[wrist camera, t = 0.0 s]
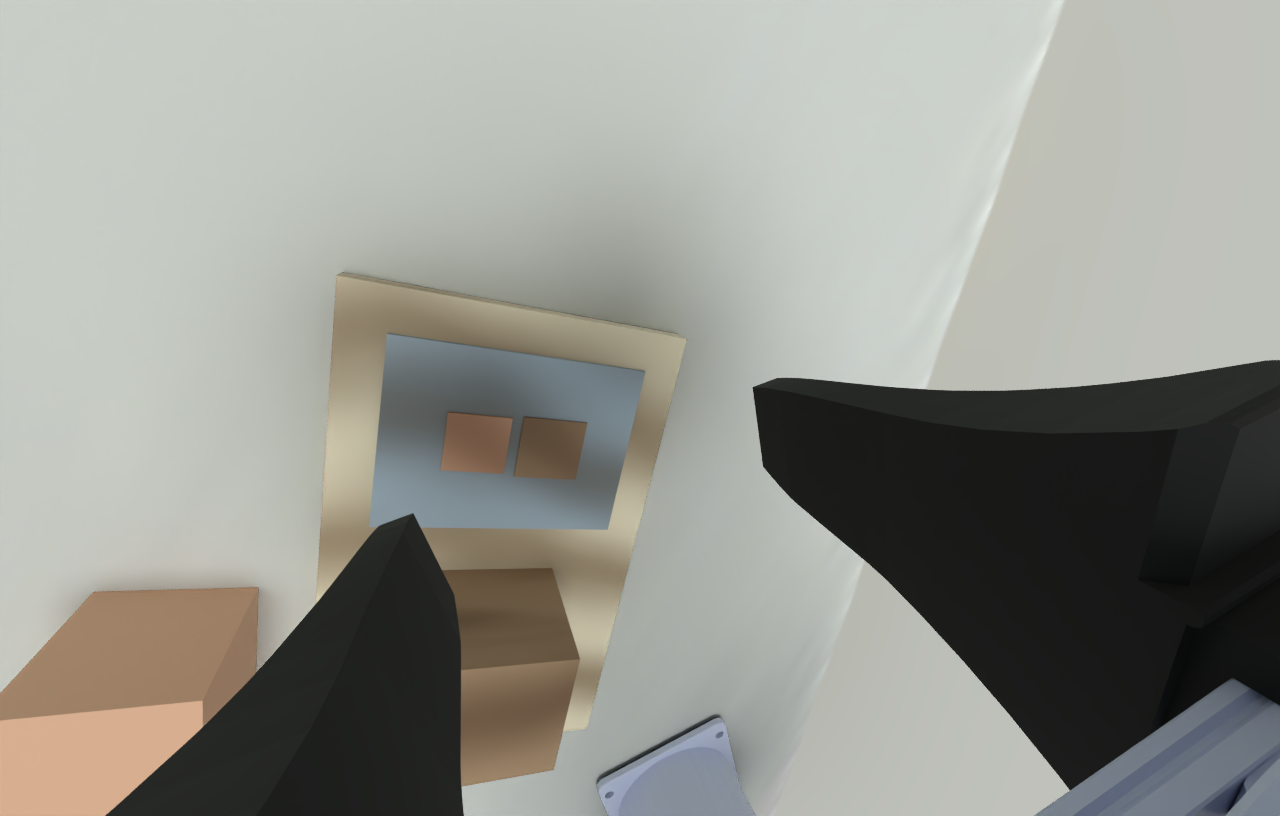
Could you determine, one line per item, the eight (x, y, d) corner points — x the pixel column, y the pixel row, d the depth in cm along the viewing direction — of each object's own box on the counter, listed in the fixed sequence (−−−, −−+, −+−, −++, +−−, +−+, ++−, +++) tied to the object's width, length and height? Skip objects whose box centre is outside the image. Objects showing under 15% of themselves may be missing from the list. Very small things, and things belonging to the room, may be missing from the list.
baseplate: (581, 711, 26) (617, 835, 21) (310, 747, 22) (268, 921, 16) (676, 333, 21) (756, 374, 16) (342, 272, 16) (293, 300, 11)
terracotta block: (256, 682, 20) (203, 816, 15) (103, 696, 18) (-6, 851, 14) (259, 585, 19) (202, 700, 14) (94, 590, 17) (-28, 723, 12)
